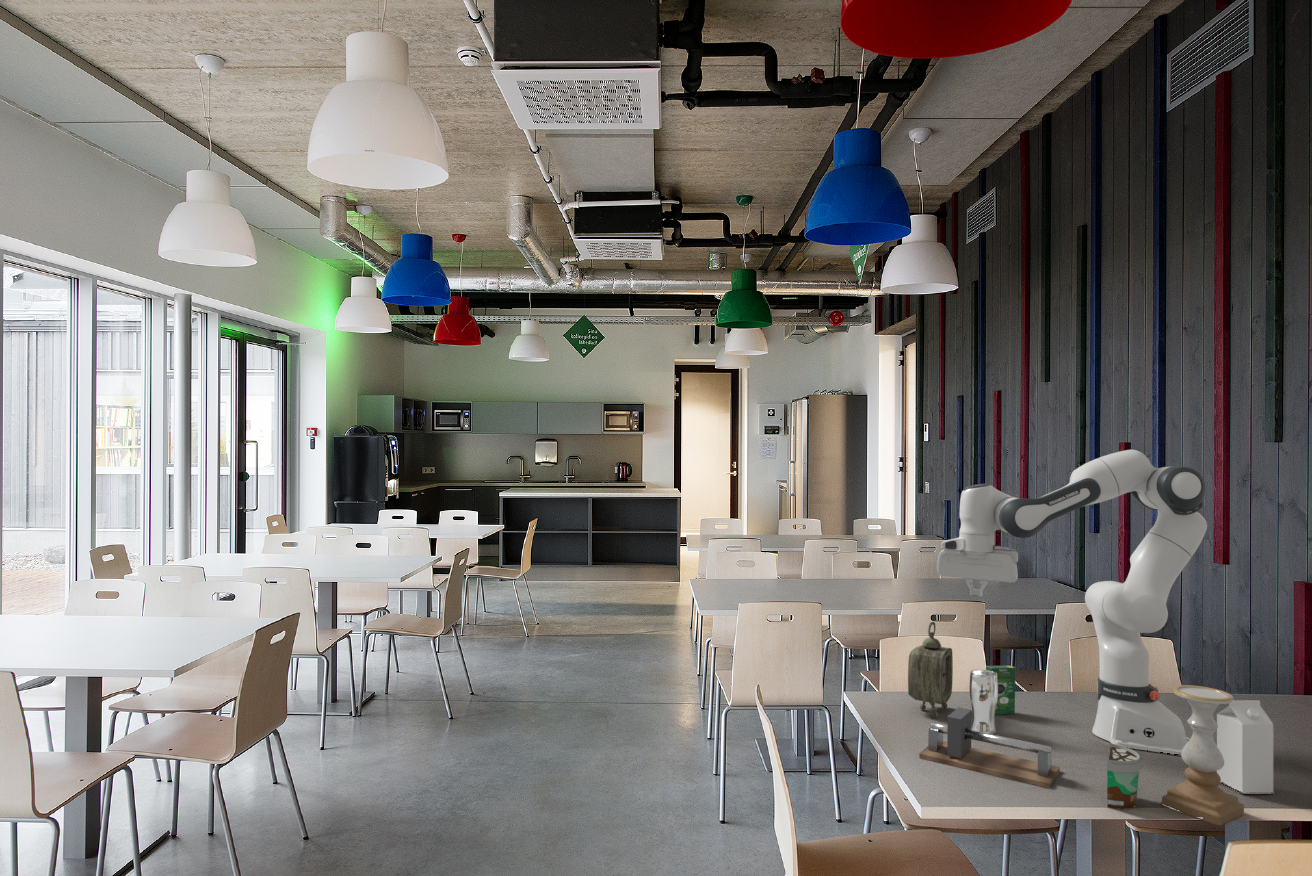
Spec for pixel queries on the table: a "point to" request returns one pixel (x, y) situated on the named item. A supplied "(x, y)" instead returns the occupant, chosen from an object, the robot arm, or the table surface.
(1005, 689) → the coffee box
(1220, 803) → the candle holder
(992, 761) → the board
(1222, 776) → the milk carton
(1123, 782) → the food container
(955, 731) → the collar
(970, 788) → the table surface
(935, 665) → the tabletop clock
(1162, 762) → the table surface
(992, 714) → the beer glass
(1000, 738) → the linear slide rail
